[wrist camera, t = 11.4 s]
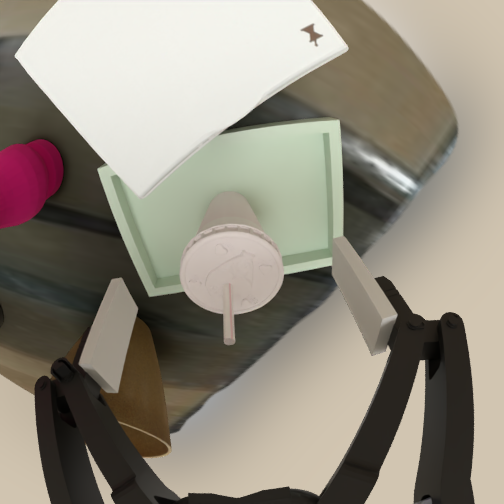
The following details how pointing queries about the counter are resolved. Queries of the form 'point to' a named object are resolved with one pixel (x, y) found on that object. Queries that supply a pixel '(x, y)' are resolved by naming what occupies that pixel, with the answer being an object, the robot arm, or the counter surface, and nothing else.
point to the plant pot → (139, 395)
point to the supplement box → (169, 71)
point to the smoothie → (231, 262)
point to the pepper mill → (27, 180)
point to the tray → (247, 184)
